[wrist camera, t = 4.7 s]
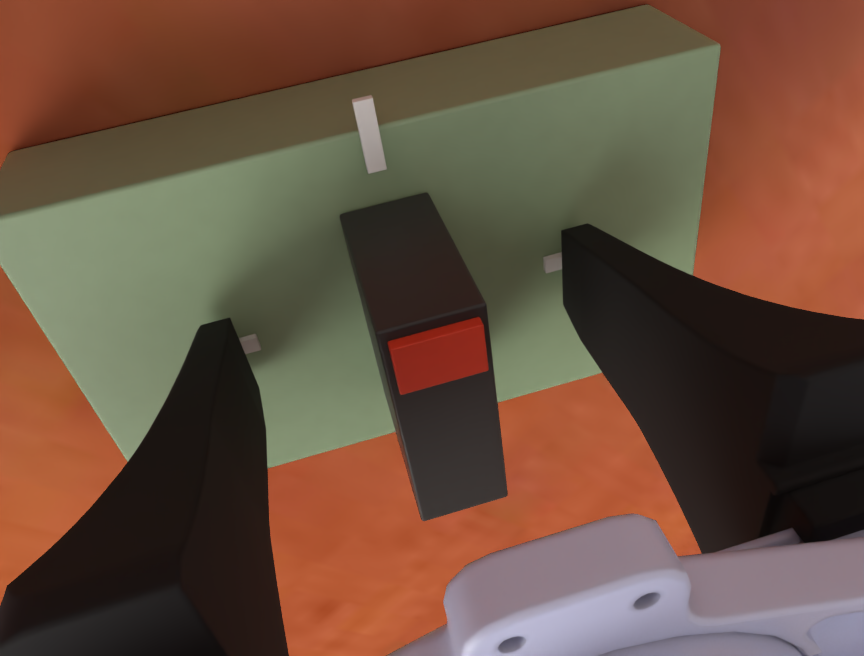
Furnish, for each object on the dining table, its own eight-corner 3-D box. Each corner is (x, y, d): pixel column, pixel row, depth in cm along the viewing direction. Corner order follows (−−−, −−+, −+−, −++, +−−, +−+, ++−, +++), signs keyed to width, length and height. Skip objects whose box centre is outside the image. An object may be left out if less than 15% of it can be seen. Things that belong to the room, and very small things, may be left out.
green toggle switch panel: (165, 430, 20) (161, 522, 18) (-10, 123, 14) (-52, 198, 12) (631, 302, 22) (686, 370, 19) (650, -27, 16) (731, 13, 13)
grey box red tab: (457, 372, 17) (513, 506, 14) (384, 393, 17) (425, 532, 14) (427, 190, 14) (492, 312, 11) (338, 213, 14) (377, 343, 11)
